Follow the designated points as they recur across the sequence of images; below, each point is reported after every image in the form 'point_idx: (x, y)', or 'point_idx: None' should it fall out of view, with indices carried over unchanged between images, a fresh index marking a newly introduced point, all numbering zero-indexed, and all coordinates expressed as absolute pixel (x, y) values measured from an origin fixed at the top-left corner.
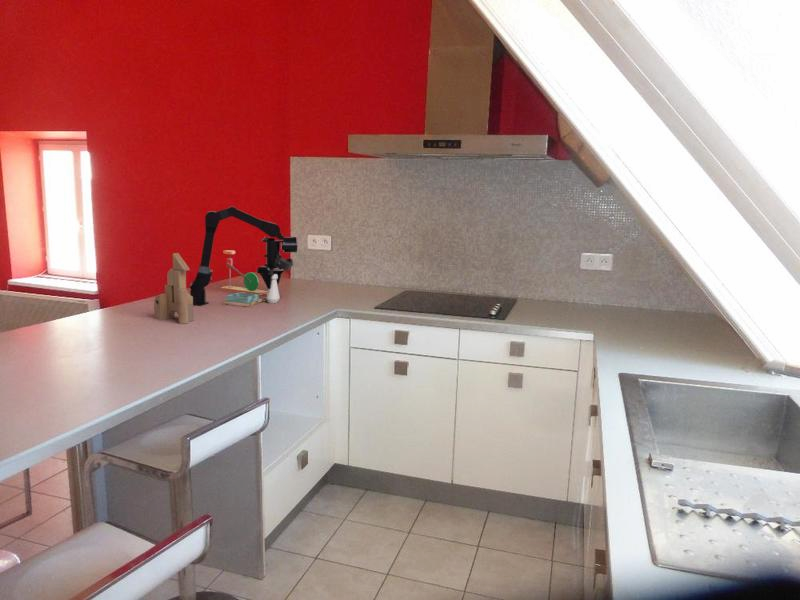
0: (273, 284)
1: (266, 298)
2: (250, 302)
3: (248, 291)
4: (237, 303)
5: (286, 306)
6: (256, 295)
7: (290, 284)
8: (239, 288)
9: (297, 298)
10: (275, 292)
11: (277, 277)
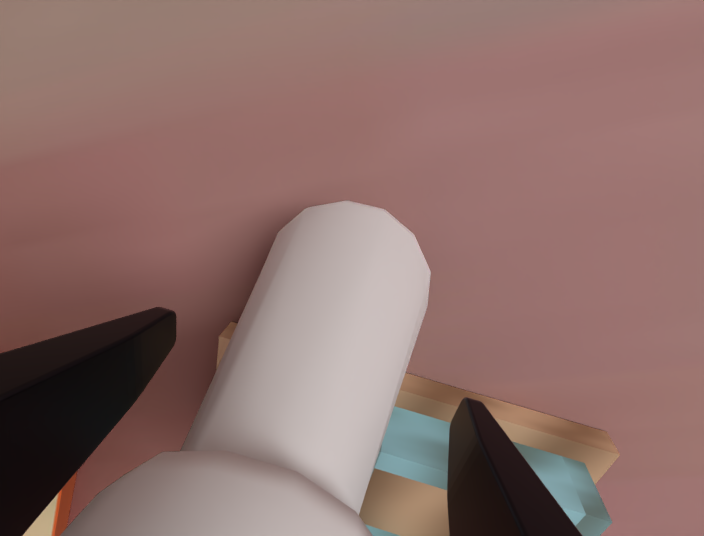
0: (378, 409)
1: None
2: (523, 444)
3: None
4: None
5: (576, 43)
6: (404, 452)
7: None
8: None
9: (8, 26)
10: (400, 282)
11: (229, 510)
